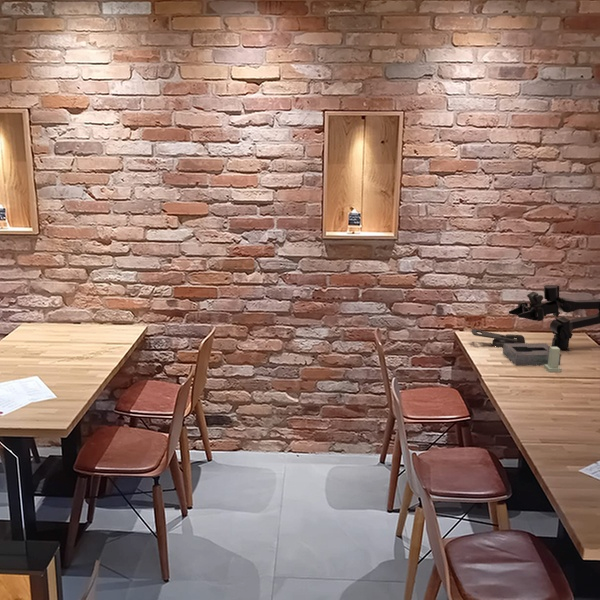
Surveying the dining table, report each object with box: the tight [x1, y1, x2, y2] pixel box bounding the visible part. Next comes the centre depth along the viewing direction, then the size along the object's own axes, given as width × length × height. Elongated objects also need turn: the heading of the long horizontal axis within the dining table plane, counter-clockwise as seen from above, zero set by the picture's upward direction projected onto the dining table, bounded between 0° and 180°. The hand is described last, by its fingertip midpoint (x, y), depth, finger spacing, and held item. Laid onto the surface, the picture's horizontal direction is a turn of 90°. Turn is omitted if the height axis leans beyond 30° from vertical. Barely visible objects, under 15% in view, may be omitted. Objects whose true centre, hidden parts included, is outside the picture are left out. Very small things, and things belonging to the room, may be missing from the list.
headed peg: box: [543, 346, 562, 373], centre depth 309 cm, size 5×5×10 cm
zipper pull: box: [471, 328, 526, 349], centre depth 342 cm, size 9×7×25 cm
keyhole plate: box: [502, 342, 562, 366], centre depth 323 cm, size 20×16×5 cm
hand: (513, 314), depth 330 cm, fingers open, 9 cm apart
